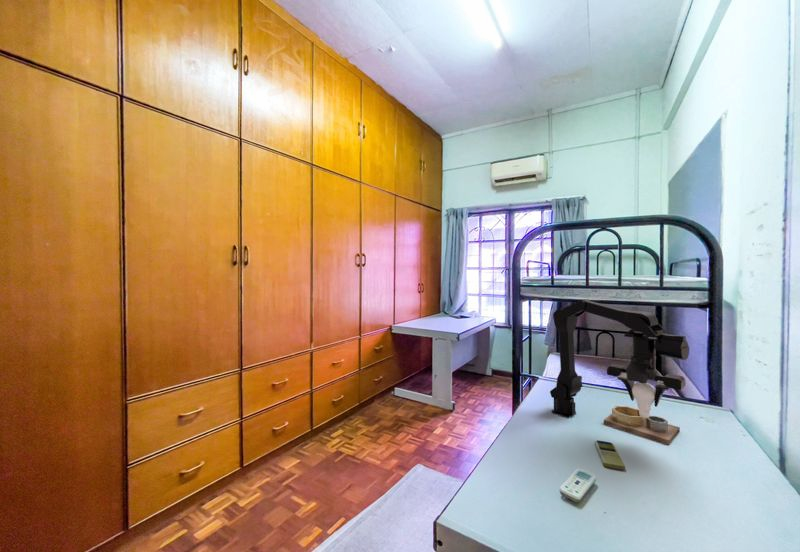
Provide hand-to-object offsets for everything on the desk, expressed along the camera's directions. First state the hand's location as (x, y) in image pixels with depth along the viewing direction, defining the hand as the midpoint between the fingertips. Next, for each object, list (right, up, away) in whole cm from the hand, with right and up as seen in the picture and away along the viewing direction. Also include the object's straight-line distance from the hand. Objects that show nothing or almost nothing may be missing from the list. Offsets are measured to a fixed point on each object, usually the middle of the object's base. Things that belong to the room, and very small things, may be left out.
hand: (644, 403), depth 100 cm
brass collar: (+4, -11, +13) cm, 17 cm away
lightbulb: (0, -5, 0) cm, 5 cm away
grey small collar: (+9, -11, +6) cm, 16 cm away
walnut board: (+6, -12, +10) cm, 17 cm away
